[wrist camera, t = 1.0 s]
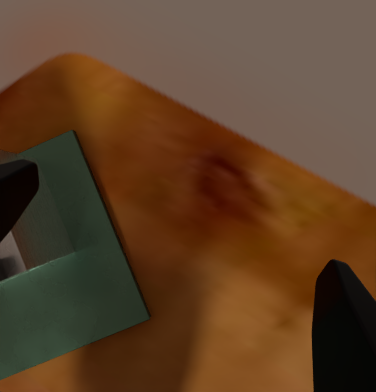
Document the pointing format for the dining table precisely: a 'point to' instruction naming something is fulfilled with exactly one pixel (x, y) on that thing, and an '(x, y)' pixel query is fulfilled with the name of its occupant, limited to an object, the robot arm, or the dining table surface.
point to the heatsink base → (62, 264)
